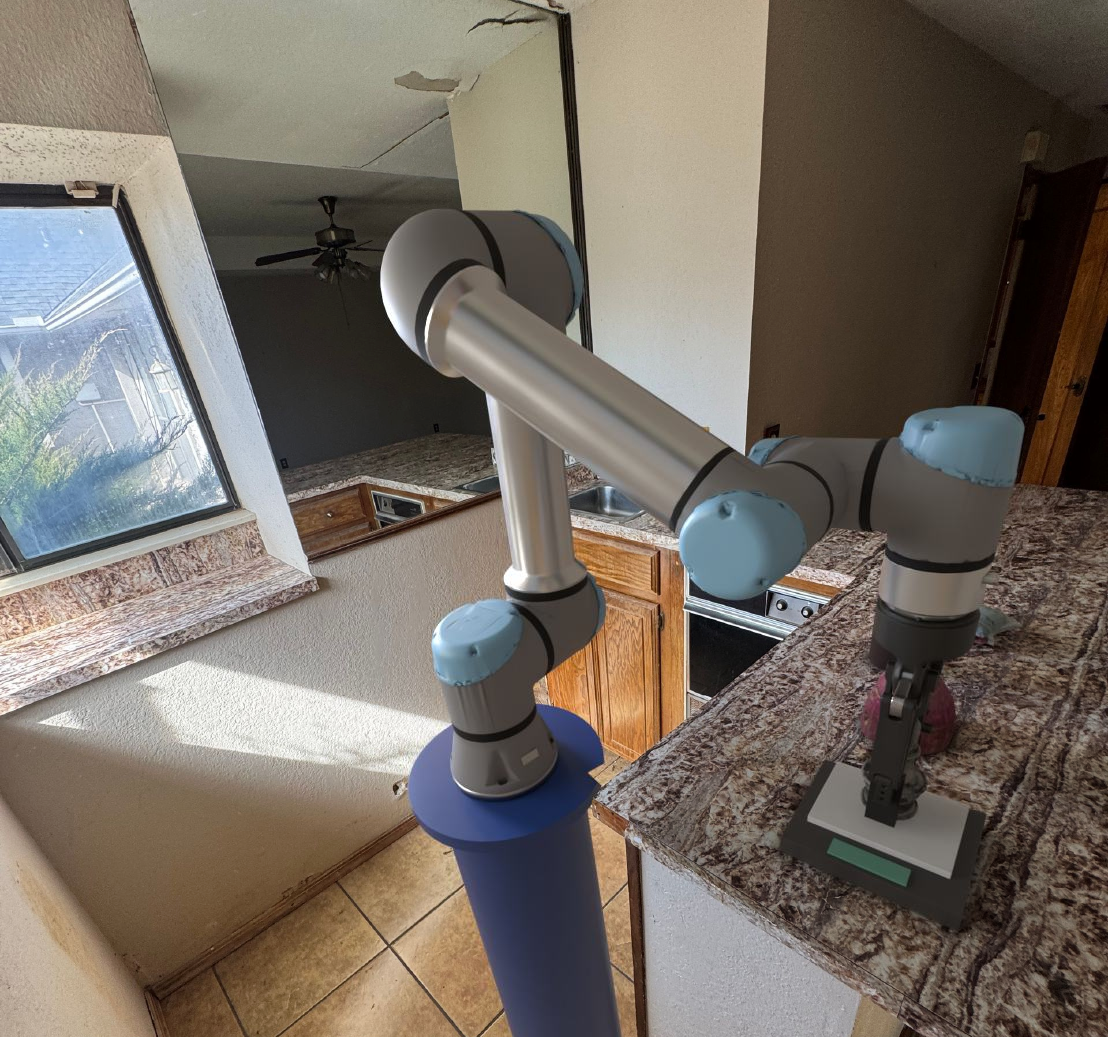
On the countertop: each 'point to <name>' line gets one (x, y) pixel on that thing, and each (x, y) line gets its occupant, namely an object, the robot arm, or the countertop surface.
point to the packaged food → (992, 624)
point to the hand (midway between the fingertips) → (888, 798)
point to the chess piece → (913, 781)
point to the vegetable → (938, 716)
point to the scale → (888, 845)
